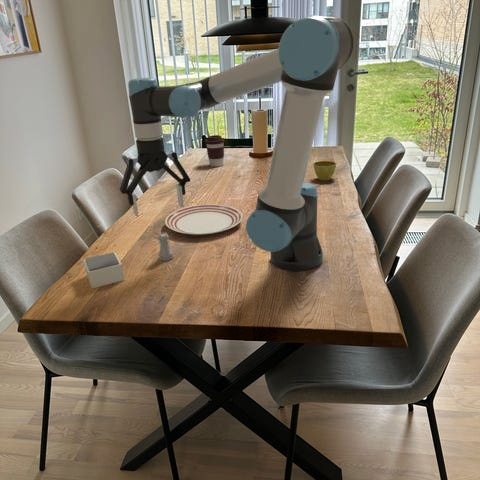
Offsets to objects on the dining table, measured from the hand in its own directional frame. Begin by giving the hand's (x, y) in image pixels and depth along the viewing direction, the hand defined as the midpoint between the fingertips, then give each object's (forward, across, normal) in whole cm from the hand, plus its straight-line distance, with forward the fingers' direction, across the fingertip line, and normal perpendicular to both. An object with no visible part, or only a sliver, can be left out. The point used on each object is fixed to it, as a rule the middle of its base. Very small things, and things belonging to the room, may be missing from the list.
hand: (159, 210), depth 135 cm
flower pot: (+16, -86, -40) cm, 96 cm away
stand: (+16, +19, +3) cm, 25 cm away
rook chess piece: (+16, 0, 0) cm, 16 cm away
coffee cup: (+16, -56, -94) cm, 110 cm away
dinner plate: (+16, -20, -19) cm, 32 cm away
